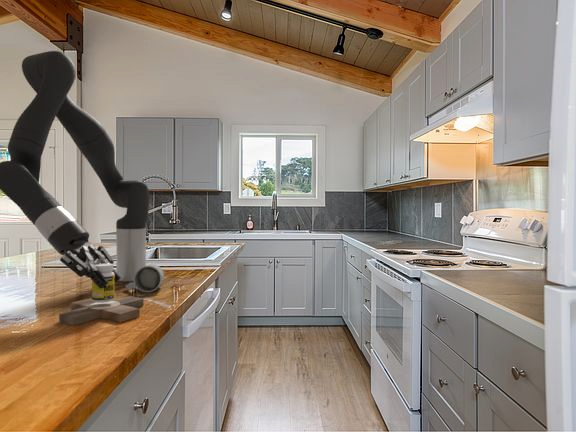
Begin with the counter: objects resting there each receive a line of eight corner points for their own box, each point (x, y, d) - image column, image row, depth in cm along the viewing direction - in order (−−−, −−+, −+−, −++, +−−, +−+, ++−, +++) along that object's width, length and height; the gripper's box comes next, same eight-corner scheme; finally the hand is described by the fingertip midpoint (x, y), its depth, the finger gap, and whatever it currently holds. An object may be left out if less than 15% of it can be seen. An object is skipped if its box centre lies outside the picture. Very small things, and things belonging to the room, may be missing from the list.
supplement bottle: (105, 303, 85) (105, 266, 85) (87, 302, 86) (87, 265, 86) (118, 298, 90) (119, 263, 89) (101, 297, 91) (101, 262, 90)
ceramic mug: (165, 286, 117) (164, 261, 117) (161, 292, 109) (160, 265, 109) (128, 287, 115) (128, 262, 115) (122, 294, 107) (122, 267, 107)
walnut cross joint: (42, 317, 84) (42, 308, 84) (114, 299, 100) (114, 292, 100) (91, 331, 76) (91, 321, 76) (161, 309, 91) (161, 301, 91)
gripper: (51, 220, 81) (105, 278, 80) (91, 218, 95) (137, 267, 94) (28, 244, 81) (81, 302, 81) (71, 238, 95) (116, 287, 95)
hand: (111, 282), depth 88 cm, fingers closed on supplement bottle, 4 cm apart
